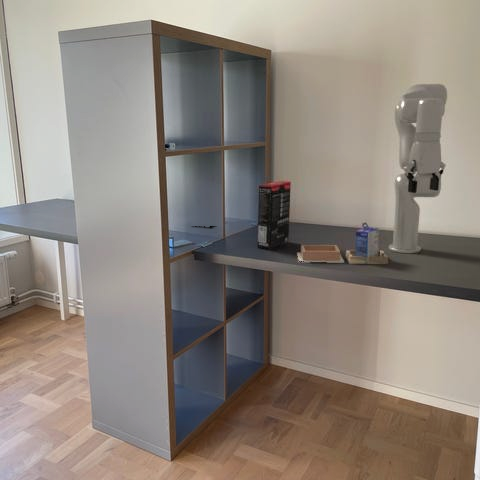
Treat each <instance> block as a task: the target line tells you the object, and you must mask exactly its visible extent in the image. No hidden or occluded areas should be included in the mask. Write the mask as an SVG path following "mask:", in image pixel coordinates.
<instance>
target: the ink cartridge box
mask: <svg viewBox="0 0 480 480" xmlns="http://www.w3.org/2000/svg"><path fill="white" fill-rule="evenodd" d="M361 225H362V228H360V229H357V230H355V250H356V252H355V256H362V257H365V264H367V265H369V264H368V260H369V257H370V256H378V250H379V231H380V230H379V228H378V227H371V226H369V225H368V223H367V222H363V223H361ZM365 264H364V265H365Z"/></svg>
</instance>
